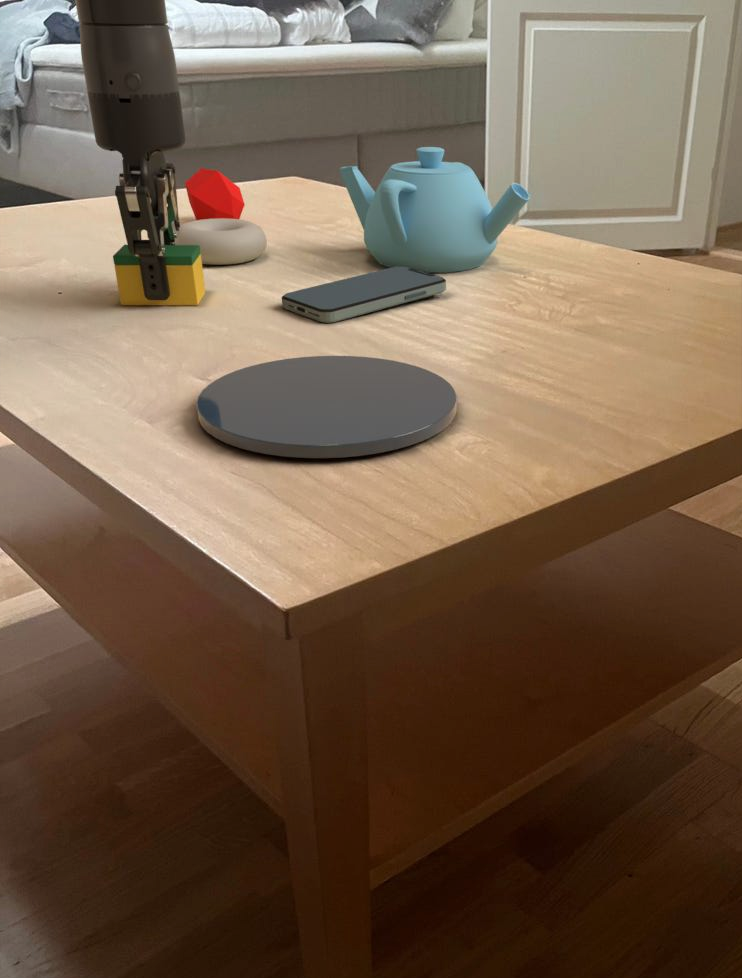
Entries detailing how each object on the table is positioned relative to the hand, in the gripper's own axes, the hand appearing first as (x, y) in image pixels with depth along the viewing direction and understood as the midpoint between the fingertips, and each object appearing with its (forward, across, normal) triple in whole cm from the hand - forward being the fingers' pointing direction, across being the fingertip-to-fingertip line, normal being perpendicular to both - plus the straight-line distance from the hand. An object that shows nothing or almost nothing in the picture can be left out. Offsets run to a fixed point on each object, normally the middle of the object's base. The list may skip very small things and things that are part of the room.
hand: (163, 290), depth 94 cm
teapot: (+1, -16, +26) cm, 31 cm away
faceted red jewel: (+1, -35, 0) cm, 35 cm away
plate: (+1, +30, +17) cm, 34 cm away
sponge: (+1, 0, 0) cm, 1 cm away
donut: (+1, -17, +3) cm, 17 cm away
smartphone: (+1, +1, +19) cm, 19 cm away
